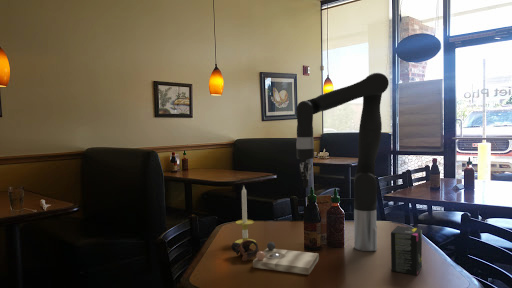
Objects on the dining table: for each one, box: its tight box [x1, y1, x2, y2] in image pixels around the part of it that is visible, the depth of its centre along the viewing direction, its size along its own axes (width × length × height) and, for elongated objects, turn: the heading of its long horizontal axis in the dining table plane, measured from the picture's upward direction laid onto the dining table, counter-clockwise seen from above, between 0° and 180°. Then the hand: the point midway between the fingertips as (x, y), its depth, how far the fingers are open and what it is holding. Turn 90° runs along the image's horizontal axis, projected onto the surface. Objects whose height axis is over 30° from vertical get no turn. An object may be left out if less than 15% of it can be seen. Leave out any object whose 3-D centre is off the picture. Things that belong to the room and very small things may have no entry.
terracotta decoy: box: [255, 250, 265, 260], centre depth 151 cm, size 3×3×3 cm
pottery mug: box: [230, 239, 260, 262], centre depth 161 cm, size 12×10×8 cm
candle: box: [234, 185, 257, 247], centre depth 180 cm, size 10×10×27 cm
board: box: [252, 248, 320, 275], centre depth 153 cm, size 22×16×2 cm
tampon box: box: [390, 225, 423, 276], centre depth 145 cm, size 11×9×15 cm
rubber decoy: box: [266, 241, 276, 250], centre depth 162 cm, size 3×3×3 cm
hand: (305, 187), depth 169 cm, fingers closed
